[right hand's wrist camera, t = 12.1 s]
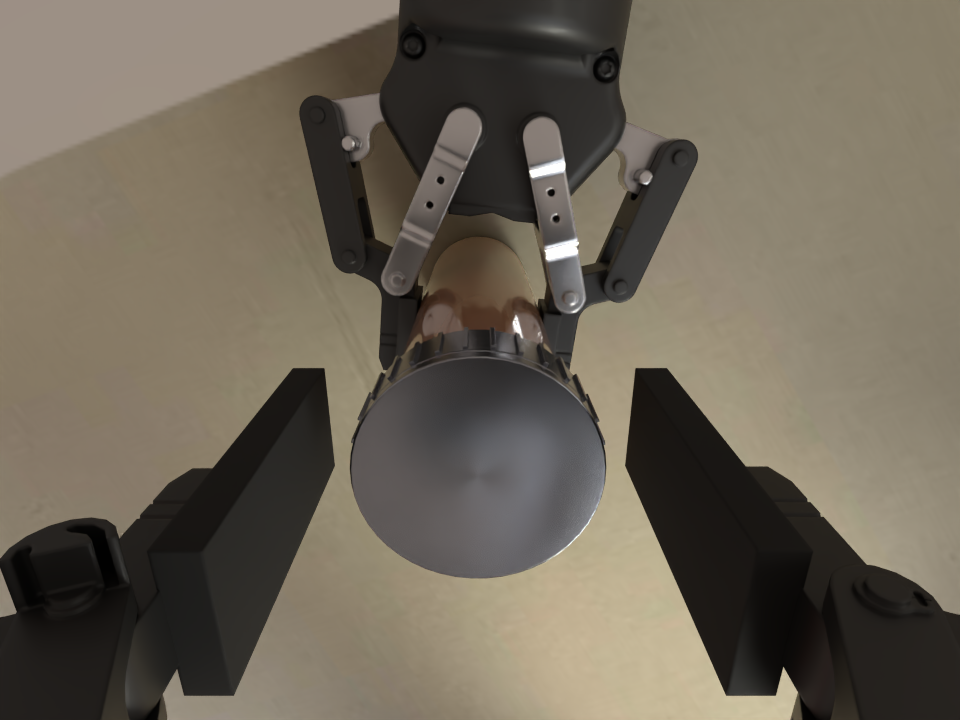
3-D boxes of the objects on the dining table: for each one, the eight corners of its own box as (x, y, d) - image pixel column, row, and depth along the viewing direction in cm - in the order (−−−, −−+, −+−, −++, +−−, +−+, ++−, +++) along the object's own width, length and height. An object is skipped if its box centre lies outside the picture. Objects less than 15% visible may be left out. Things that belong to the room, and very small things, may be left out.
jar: (533, 319, 30) (599, 535, 13) (443, 336, 30) (399, 568, 14) (516, 227, 28) (569, 345, 12) (421, 247, 29) (343, 388, 12)
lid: (607, 511, 15) (624, 559, 13) (394, 547, 15) (384, 598, 14) (577, 303, 13) (592, 328, 11) (333, 351, 13) (312, 381, 12)
